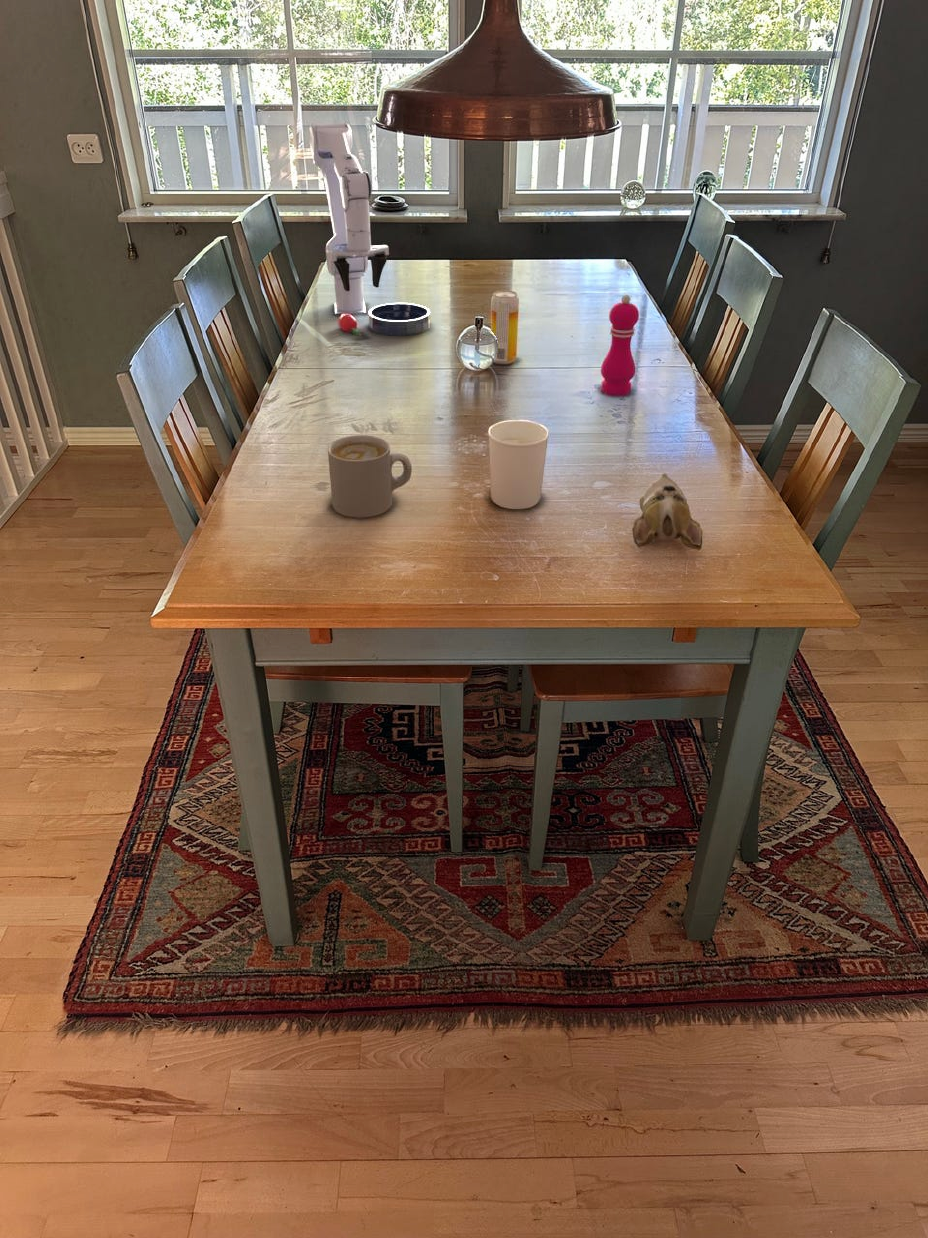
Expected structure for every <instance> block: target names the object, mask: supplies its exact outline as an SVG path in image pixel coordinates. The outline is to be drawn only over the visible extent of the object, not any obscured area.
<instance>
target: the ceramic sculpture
mask: <svg viewBox="0 0 928 1238" xmlns="http://www.w3.org/2000/svg"><path fill="white" fill-rule="evenodd" d="M639 507H640V510H641V513H642V514H641V515H640V516H639V517H638V518H636V519H635V520H634V522H633V526H632V529H631V530H632V531H631V532H632V538H633V542H634V544H635V545H636V546H637V547H638V548H642V547H646V546H648V545H650V544H652V543H653V542H654V540H656V541H663V542H673V541H677V540H678V539H680V541H681V543H682V544H683V546H685V547H687V548H689V549H693V550H697V551H701V550H702V546H703V530H702V528H701V524H700V522H698V521H697V520H695V519H693V518H692V515H691V511H690V506H689V504H688V500H687V498H686V496H685V495H684V492H683V490H682V488H681V487H680V485H678V483H677V482H676V481H674V480H673V479H672V478H670V477H669V476H668V474H667V473H665V472H664V473H662V474H661V476H660V477H658V478H657V479H656V480H654V481H653V482H652V483H651V484H650V485H649V486H648V487H647V488H646V489H645V491H644V492H643V493H642V495H641V496H640V497H639Z"/></svg>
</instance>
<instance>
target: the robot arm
mask: <svg viewBox="0 0 928 1238" xmlns="http://www.w3.org/2000/svg"><path fill="white" fill-rule="evenodd" d="M308 139H309V147H310V153H311V159H312V161H313V164H314V166H316V167H318V168H319V169H320V170H321V174H322V176H323V180H324V185H325V191H326V198H327V203H328V209H329V214H330V220H331V226H332V232H333V236H332V238H330V240H328V242H327V243H326V245H325V260H326V268H327V271H328V273H329V274H330V275H331V276H333V280H334V281H333V282H334V294H335V297H334V298H335V302H334V314H335V315H342V314H366V313H367V310H366V302H365V301H364V288H363V287H364V285H363V277H365V275H364V274H366V272H367V271H368V269H369V258H370V265H371V274H372V275H371V279H372V281H371V282H372V286H373V287H374V288H379V287H380V282H381V277H382V272H383V270H384V268H385V265H386V264H387V261H388V259H387V256H390V251H389V249H390V248H389V246H388V245H387V244H382V245H381V244H380V245H372V237H371V236H372V235H371V216H370V200H371V199H372V194H373V190H372V189H373V188H372V180H371V177H370V174H369V172H368V171H363V170H362V167H361V165H360V163H359V161H358V159H357V157H356V155H354V154H352V149H353V133H352V128H351V126H350V125H349V124H348V123H347V122H344V123H334V124H333V123H331V124H329V123H327V124H315V123H312V124H310V126H309V129H308Z"/></svg>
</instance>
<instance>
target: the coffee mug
mask: <svg viewBox="0 0 928 1238" xmlns="http://www.w3.org/2000/svg"><path fill="white" fill-rule="evenodd" d="M327 456H328V457H327V458H328V469H329V470H328V471H329V481H330V492H331V493H330V494H331V504H332V508H333V510H334V511H335V512H337V513H338V514H339V515H340V514H341V515H342V516H345V517H349V518H357V519H358V518H372V517H376V516H379V515H382V514H384V513H385V512H387V511H389V510H390V508H391V507H392V506H393V499H392V494H393V492H394V491H395V490H396V489H399V488H401V487H403V486H404V485H406V484H407V483H408V482H409V481H410V479H411V476H412V471H413V469H412V462H411V460H410V457H409V456H408V455H407V454H406V453H404V452H402V451H401V452H399V451H391V446H390V443H389V442H388V441H386V440H385V439H383V438H380V437H379V436H378V437H377V436H374V435H366V434H358V435H357V434H356V435H349V436H344V437H340V438H337V439H336V440H334V441H332V442H331V443H330V444H329V446H328V447H327ZM396 462H400V463H401V464H402V466H403V470H402V473H401V475H400V476H394V475H393V473H392V472H393V471H392V469H393V465H394V464H395V463H396Z"/></svg>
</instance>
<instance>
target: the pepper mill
mask: <svg viewBox="0 0 928 1238" xmlns="http://www.w3.org/2000/svg"><path fill="white" fill-rule="evenodd" d="M620 299H621V301H620V302H617V303H614V305H613V306H612V307H611V308H610V311H609V314H608V320H609V322H610V324H611V325H610V330H609V334H610V335H611V343H610V347H609V350H608V352H607V354H606V356H605V357H604V359H603V361H602V363H601V367H600V375H601V376H602V378H603V379H602V381H601V385H600V386H601V387H600V390H601V392H602V393H604V394H605V395H609V396H615V397H619V396H620V397H621V396H626V395H629V394H630V393H631V390H632V382H631V380H632V379H633V378H634V377H635V375H636V363H635V359H634V357H633V353H632V348H631V344H632V338H633V336H634V335H635V331H636V328H635V325H636V324H637V323H638V322H639V318H640V312H639V309H638V306H637V305H635V304H634V303H631V297H630V296H629V295H628V294H624V295H622V297H621V298H620Z"/></svg>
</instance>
